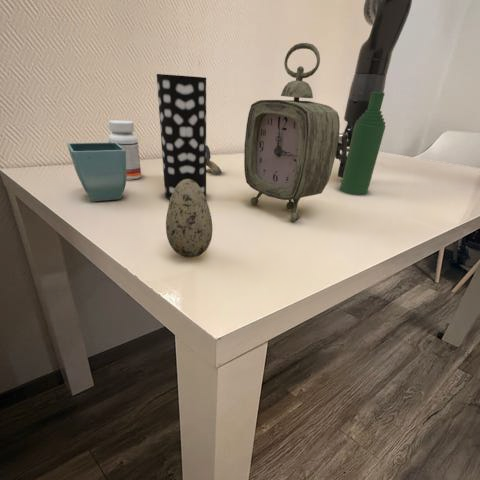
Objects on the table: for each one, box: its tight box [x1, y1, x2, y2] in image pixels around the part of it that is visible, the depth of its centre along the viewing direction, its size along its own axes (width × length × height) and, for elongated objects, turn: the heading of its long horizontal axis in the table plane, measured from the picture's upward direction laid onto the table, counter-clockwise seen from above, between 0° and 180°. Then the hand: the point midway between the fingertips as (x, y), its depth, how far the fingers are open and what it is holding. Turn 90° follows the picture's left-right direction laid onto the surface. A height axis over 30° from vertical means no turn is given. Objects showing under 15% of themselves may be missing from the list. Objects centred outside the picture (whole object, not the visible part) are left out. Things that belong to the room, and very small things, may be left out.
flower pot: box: [66, 142, 127, 202], centre depth 62 cm, size 9×9×9 cm
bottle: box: [339, 92, 386, 196], centre depth 74 cm, size 6×6×20 cm
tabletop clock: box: [243, 42, 341, 223], centre depth 57 cm, size 14×9×25 cm, turn 40°
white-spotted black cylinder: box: [156, 73, 207, 201], centre depth 62 cm, size 8×8×20 cm
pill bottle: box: [108, 119, 142, 181], centre depth 75 cm, size 6×6×11 cm
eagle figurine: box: [206, 144, 223, 176], centre depth 86 cm, size 8×7×9 cm
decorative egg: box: [165, 179, 213, 259], centre depth 42 cm, size 6×6×10 cm
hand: (346, 176), depth 88 cm, fingers closed on cap, 4 cm apart
